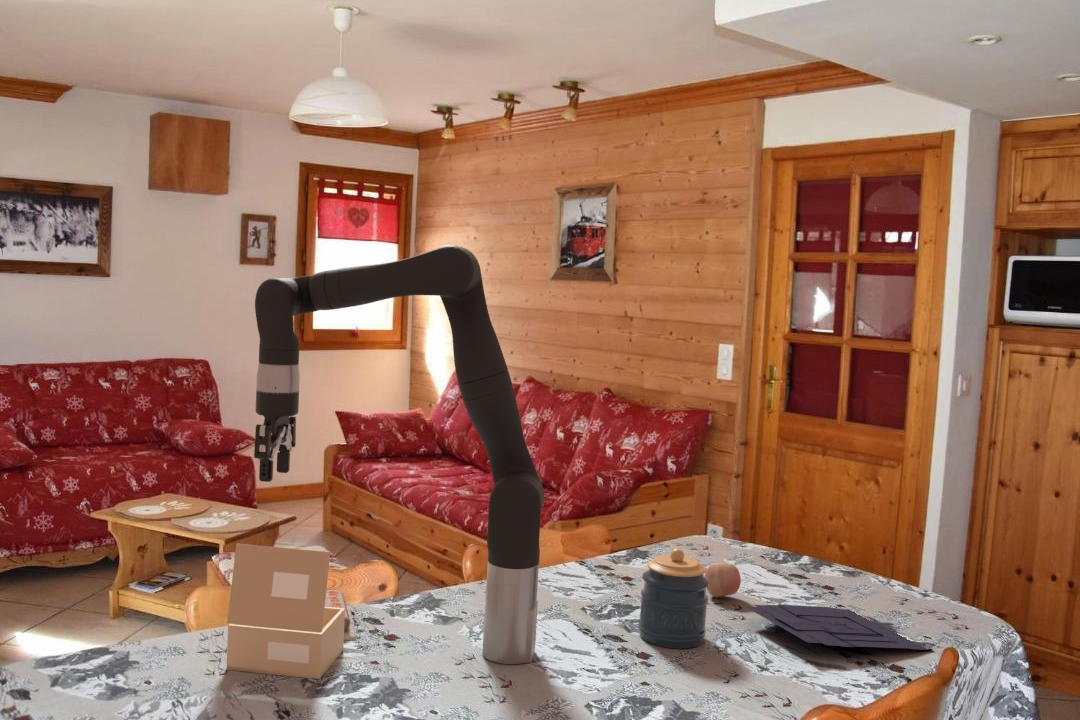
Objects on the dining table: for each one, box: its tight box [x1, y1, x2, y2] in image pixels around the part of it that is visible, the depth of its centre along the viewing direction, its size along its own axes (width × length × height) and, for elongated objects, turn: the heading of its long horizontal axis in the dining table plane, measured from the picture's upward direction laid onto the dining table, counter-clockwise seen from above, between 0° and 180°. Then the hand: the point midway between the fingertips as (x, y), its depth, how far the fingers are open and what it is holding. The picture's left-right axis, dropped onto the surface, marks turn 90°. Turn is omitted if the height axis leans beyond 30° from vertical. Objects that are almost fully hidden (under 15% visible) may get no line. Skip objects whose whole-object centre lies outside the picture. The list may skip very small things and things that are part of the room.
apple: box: [704, 562, 742, 599], centre depth 217 cm, size 8×8×8 cm
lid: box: [226, 543, 331, 632], centre depth 162 cm, size 16×13×1 cm
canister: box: [638, 548, 709, 650], centre depth 190 cm, size 13×13×18 cm
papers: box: [743, 604, 929, 651], centre depth 197 cm, size 24×30×4 cm
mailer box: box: [225, 607, 345, 680], centre depth 168 cm, size 16×13×8 cm
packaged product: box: [325, 588, 358, 641], centre depth 187 cm, size 18×5×10 cm
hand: (274, 476), depth 178 cm, fingers open, 8 cm apart
